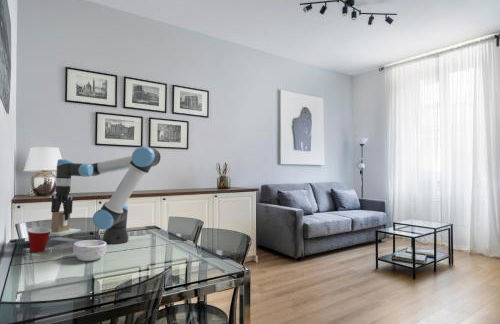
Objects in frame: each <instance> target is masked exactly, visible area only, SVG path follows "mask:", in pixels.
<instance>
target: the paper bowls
mask: <svg viewBox="0 0 500 324" xmlns="http://www.w3.org/2000/svg"><path fill="white" fill-rule="evenodd" d="M82 240H83V241H78V242H75V243H74V244H73V246H72V254H73V256H75V257H76V258H77V260H79V261H82V262H92V261H96V260H99V259H100V258H101V257H102V255H105V253H106V252H107V245H108V243H106V242H105V241H102V240H100V239H85V240H84V239H82Z"/></svg>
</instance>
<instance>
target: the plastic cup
mask: <svg viewBox="0 0 500 324" xmlns="http://www.w3.org/2000/svg"><path fill="white" fill-rule="evenodd" d="M26 231H27V234H28V244H29V248H30V249H29V250H30V253H43V252H45V249H46V247H45V246H46V244H47V240H48V239H49V236H50V235H49V234H50V232H51V231H52V229H51V228H49V227H41V226H40V227H39V226H35V227H30V228H27V229H26Z"/></svg>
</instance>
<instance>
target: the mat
mask: <svg viewBox="0 0 500 324" xmlns="http://www.w3.org/2000/svg"><path fill="white" fill-rule="evenodd" d="M83 240H84V239H76V238H71V237H69V238H68V237H63V236H56V237H52V238H48V240H47V244H46V246H45V248H46V247H47V248H52V249H62V248H66V247H69V246H72V245H73V244H74V243H75V242H78V241H83Z"/></svg>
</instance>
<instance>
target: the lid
mask: <svg viewBox="0 0 500 324" xmlns="http://www.w3.org/2000/svg"><path fill="white" fill-rule="evenodd" d="M63 214H64V210H59V212H51V228H50V229H52V231H51V232H50V234H49V236H54V237H55V236H56V237H63V236H66V235H70V234H76V233H78V232H82V229H79V228H78V229H77V228H71V226H70V225H71V213H70V214H69V217H68V220H67V225H66V226H62V224H63Z"/></svg>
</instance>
